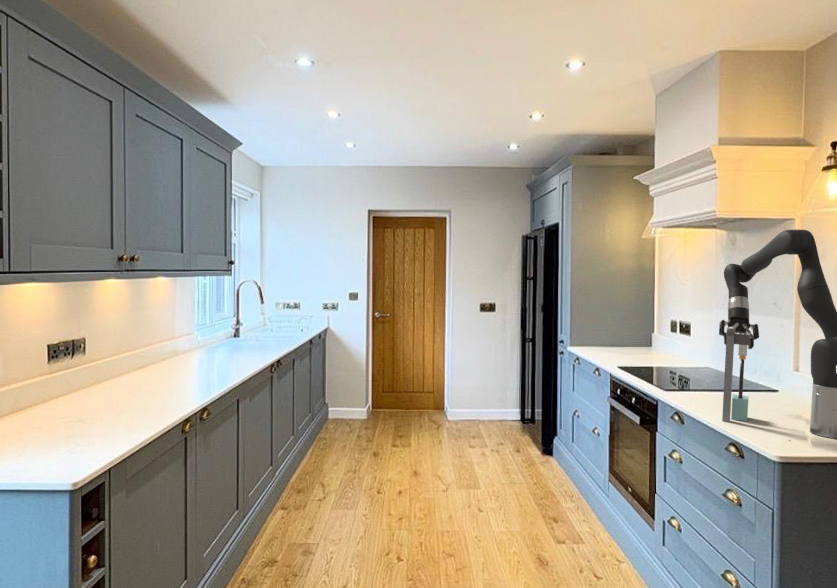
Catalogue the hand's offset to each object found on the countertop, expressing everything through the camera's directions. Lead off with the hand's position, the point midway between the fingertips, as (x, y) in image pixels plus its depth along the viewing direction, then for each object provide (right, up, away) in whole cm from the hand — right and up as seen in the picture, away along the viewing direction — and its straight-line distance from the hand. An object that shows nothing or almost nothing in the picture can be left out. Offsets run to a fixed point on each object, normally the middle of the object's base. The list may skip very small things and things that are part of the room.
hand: (739, 347), depth 228 cm
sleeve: (-10, -25, -17) cm, 32 cm away
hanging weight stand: (-13, -26, -20) cm, 36 cm away
